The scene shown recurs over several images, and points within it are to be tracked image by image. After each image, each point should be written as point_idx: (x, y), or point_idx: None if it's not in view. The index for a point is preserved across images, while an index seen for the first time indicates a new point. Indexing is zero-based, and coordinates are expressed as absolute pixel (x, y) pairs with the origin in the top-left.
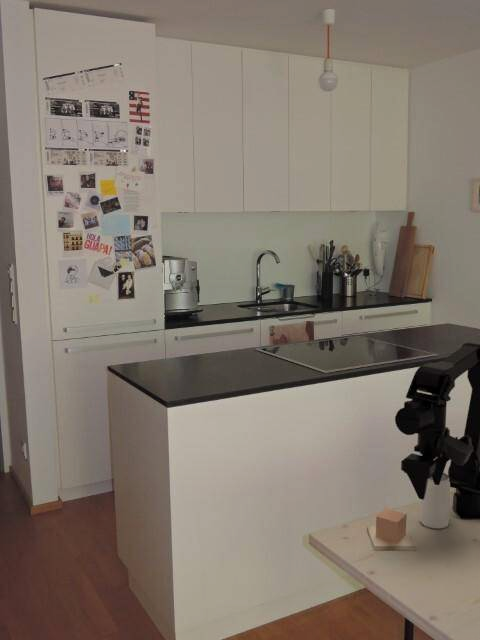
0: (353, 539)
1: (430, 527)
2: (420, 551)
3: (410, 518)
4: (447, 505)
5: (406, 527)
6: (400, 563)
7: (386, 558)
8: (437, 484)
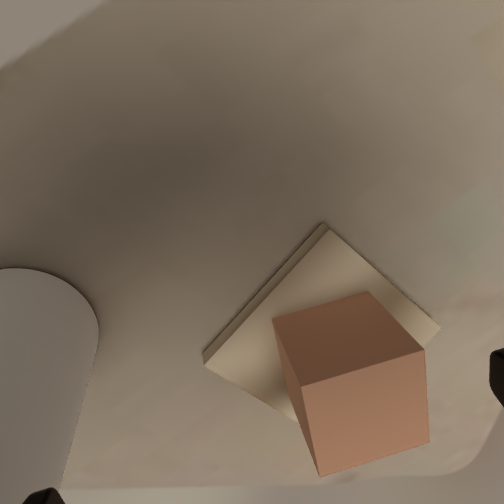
0: None
1: (89, 308)
2: (315, 203)
3: (89, 411)
4: None
5: (211, 358)
6: (456, 195)
7: (455, 254)
8: (57, 499)
